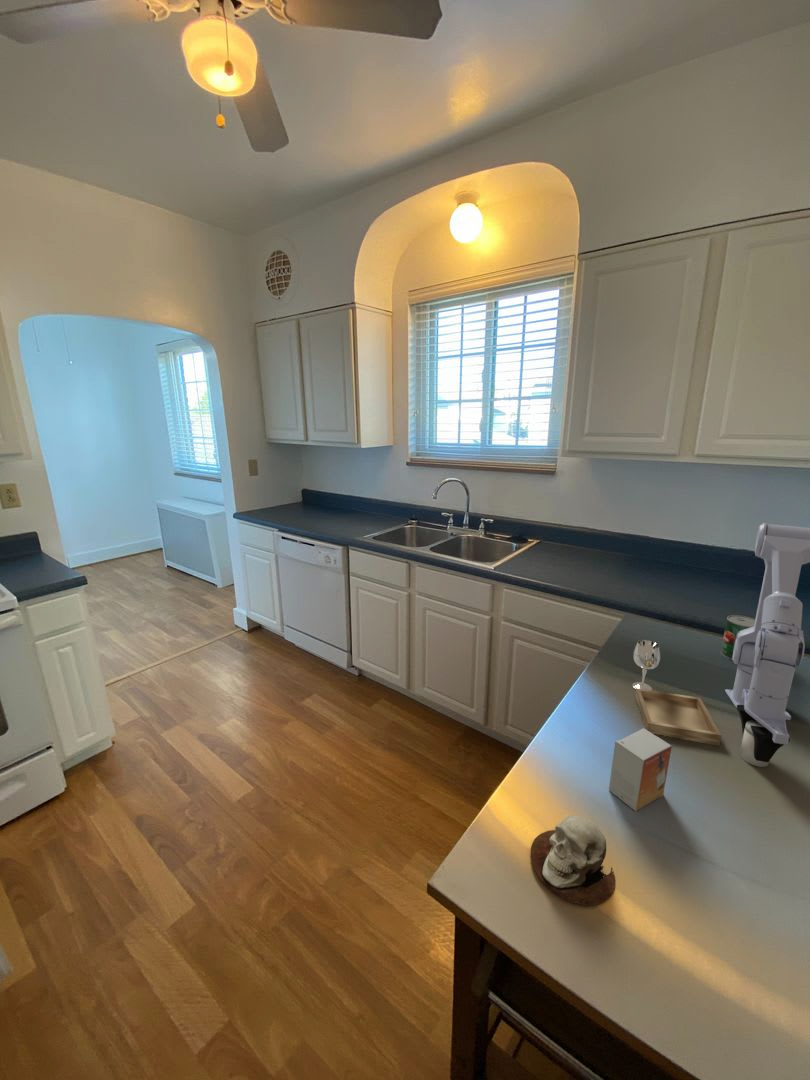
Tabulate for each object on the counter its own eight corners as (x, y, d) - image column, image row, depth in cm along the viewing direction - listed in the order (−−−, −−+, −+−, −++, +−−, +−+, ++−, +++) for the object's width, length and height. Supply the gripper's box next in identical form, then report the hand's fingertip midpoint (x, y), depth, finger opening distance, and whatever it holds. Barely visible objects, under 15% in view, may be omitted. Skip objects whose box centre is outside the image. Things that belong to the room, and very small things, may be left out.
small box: (635, 813, 76) (643, 761, 73) (607, 790, 81) (614, 740, 78) (664, 795, 80) (673, 745, 77) (636, 774, 84) (643, 726, 82)
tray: (698, 707, 104) (700, 697, 104) (719, 745, 92) (721, 735, 91) (634, 697, 108) (635, 688, 107) (646, 733, 95) (648, 723, 95)
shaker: (762, 752, 90) (769, 722, 88) (773, 769, 85) (780, 738, 84) (735, 748, 91) (741, 718, 89) (745, 764, 87) (751, 733, 85)
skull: (580, 926, 58) (544, 838, 62) (536, 910, 66) (508, 834, 70) (641, 882, 63) (605, 804, 67) (593, 873, 71) (564, 803, 75)
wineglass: (659, 694, 109) (666, 650, 106) (636, 693, 109) (642, 650, 106) (647, 681, 115) (654, 639, 112) (625, 681, 115) (631, 638, 112)
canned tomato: (761, 663, 123) (769, 627, 120) (733, 663, 123) (740, 627, 120) (741, 649, 131) (748, 614, 128) (714, 649, 131) (720, 615, 128)
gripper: (816, 717, 76) (799, 782, 80) (775, 673, 90) (762, 731, 93) (767, 710, 78) (753, 774, 82) (735, 668, 92) (723, 725, 95)
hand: (755, 751), depth 88 cm, fingers closed on shaker, 5 cm apart
